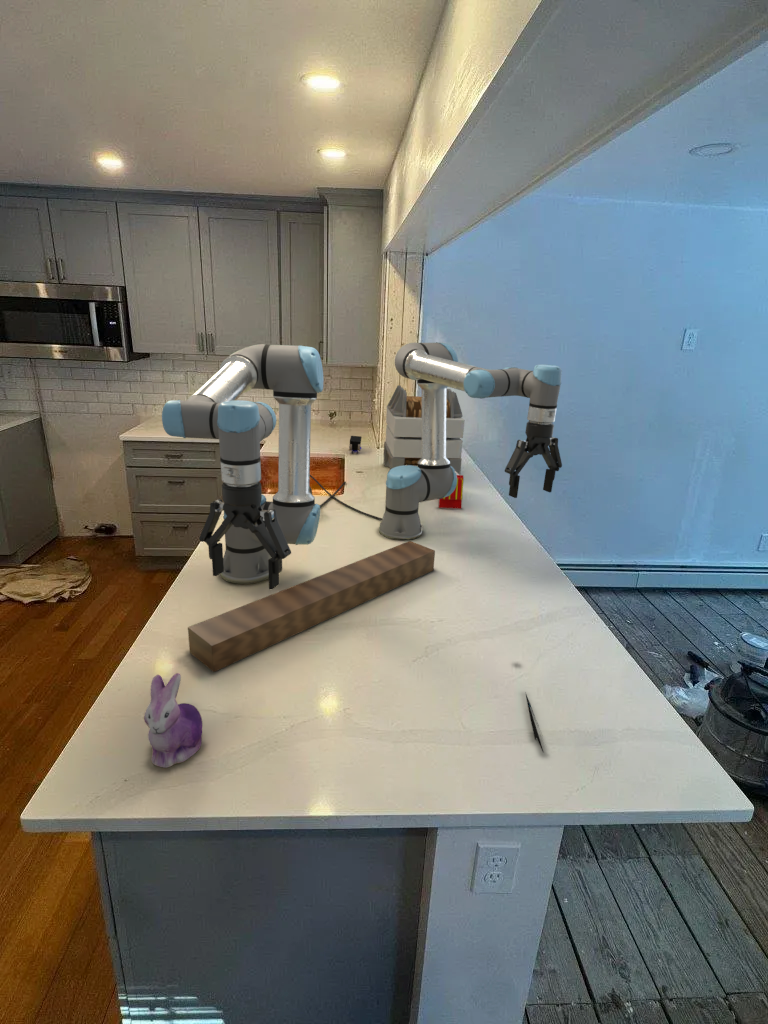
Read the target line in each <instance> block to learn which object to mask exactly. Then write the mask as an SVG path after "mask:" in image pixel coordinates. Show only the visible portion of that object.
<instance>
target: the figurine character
mask: <svg viewBox="0 0 768 1024" xmlns="http://www.w3.org/2000/svg"><path fill="white" fill-rule="evenodd" d="M362 438H363V437H362V435H361V436H360V435H350V438H349V446H348V448H349V449H348V450H349V451H351V455H352V454H354V453H356V455H358V454H359V451H361V450H362V446H361V445H362V444H361V443H362Z"/></svg>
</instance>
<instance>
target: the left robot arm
mask: <svg viewBox="0 0 768 1024" xmlns="http://www.w3.org/2000/svg"><path fill="white" fill-rule="evenodd" d="M323 369H324V368H323V363H322V359H321V355H320V353H319V351H318V350H317V349H316V348H315V347H312V346H306V345H305V346H304V345H302V344H300V345H291V344H289V345H287V344H267V343H260V344H254V345H250V346H249V345H248V346H245V347H244V348H240V349H239V350H237V351H235V352H233V353H232V354H229V356H227V357H226V358H225V359H224V360H223V361H222V362H221V364H220V366H219V370H218V371H217V372H215V373H214V374H213V375H212V376H211V377H210V378H209V379H208V380H206V382H205V383H204V384H203V385H201V386H200V387H199V388H198V389H197V390H196V391H195V392H194V393H193V394H191V395H190V396H189V397H188V398H187V399H186V400H182V399H177V400H176V399H175V400H172V399H171V400H167V401H166V402H165V404H164V405H163V407H162V410H161V423H162V427H163V430H164V432H165V433H166V434H167V435H168V436H171V437H177V438H183V439H203V440H204V439H206V440H209V439H210V440H218V443H219V445H218V446H219V456H220V459H219V461H220V475H221V479H220V480H221V482H223V483H222V484H221V496H222V498H218V499H216V500H213V501H211V502H210V504H209V513H208V515H207V518H206V521H205V522H204V525H203V527H202V530H201V532H200V535H199V538H198V539H199V541H200V542H201V543H203V542H204V543H206V545H207V546H208V558H209V559H210V560H211V567H212V568H211V569H212V576H213V577H217V576H219V575H220V577H221V578H222V579H223V580H224V581H226V582H228V583H232V584H238V585H250V584H257V583H260V582H264V581H266V580H268V589H269V590H271V591H272V590H274V589H275V588H277V587H278V586H280V574H281V573H282V572H283V560H285V559H286V558H287V557H289V556H290V555H291V554H292V550H291V548H290V545H295V546H298V545H299V546H301V545H303V546H304V545H307V546H309V545H311V544H312V543H313V542H314V540H315V538H316V536H317V534H318V533H317V532H318V528H319V525H320V524H319V523H320V517H321V508H322V507H324V505H326V504H328V502H329V501H330V500H331V499H333V498H332V496H334V497H335V495H337V493H339V491H340V490H341V489H342V488H343V487H344V486H345V484H346V481H343V482H342V483H341V485H340V486H339V487H338V488H337V490H335V491H334V493H332V494H331V495H332V496H330V497H328V498H327V499H326V500H325V501H324V502H322V503H321V504H318V503H316V501H315V500H316V497H315V496H314V495H313V493H312V494H311V493H310V491H309V486H310V482H311V481H310V480H311V479H310V478H311V477H310V475H311V474H310V473H311V434H312V433H311V431H312V429H311V428H312V427H311V425H312V419H311V418H312V405H313V404H314V403H315V401H316V400H318V394H319V393H322V392H323V390H324V379H325V378H324V370H323ZM251 390H268V391H269V390H272V397H273V399H274V400H275V401H276V402H277V403H278V470H277V471H278V473H277V474H278V481H277V482H278V483H277V484H278V485H277V486H278V487H277V492H276V493H275V494H273V496H272V501H267V497H266V496H265V495H264V494H263V493H262V483H261V480H262V463H261V442H263V440H265V439H266V438H269V437H270V436H271V434H272V433H273V432H274V429H275V428H276V426H277V416H276V413H275V411H274V409H273V408H272V407H271V406H270V405H269V404H268V403H265V402H262V401H251V400H242V399H240V400H238V399H239V398H240V397H241V396H242V395H243V394H245V393H248V392H249V391H251ZM222 513H223V515H222ZM221 515H222V516H223V517H222V518H223V520H222V522H221V524H220V525H219V527H218V528H216V527H217V525H218V522H219V519H220V517H221ZM215 529H216V530H215ZM223 537H224V541H225V543H224V544H225V551H223V550H224V549H223V543H222V542H220V541H221V539H222V538H223Z"/></svg>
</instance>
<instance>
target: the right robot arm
mask: <svg viewBox="0 0 768 1024" xmlns="http://www.w3.org/2000/svg"><path fill="white" fill-rule="evenodd" d="M394 367H395V370H396V372H397V373H398V374H399V375H400V376H401V377H403V378H405V379H408V380H412V381H417V382H416V385H417V386H419V388H420V389H421V397H422V458H421V459H420V460H419V461H418V466H413V465H402V466H397V467H394V468H392V469H391V470H390V469H389V470H388V472H387V475H386V479H385V504H384V505H385V507H384V508H385V509H384V513H383V515H382V517H379V516H376V515H372V514H370V513H368V512H364V511H363V510H359V509H357V508H355V507H354V506H351V505H348V504H347V503H345V502H343V501H341V500H340V499H338V498H336V497H335V495H334V496H332V495H333V494H331V493H330V492H329V491H328V490H327V489H326V488H325V487H324V486H323V485H322V484H321V483H320V482H319V481H318V480H317V479H316V478H315V477H314V476H312V475H311V474H310V478H311V479H312V480H313V481H314V482H315V483H316V484H317V485H318V486H319V487H320V488H321V489H322V490H323V491H324V492H325V493H326V494H327V495H328V496H330V497H331V496H332V498H331V499H334V500H335V501H337V502H338V503H340V504H341V505H343V506H345V507H346V508H348V509H351V510H352V511H355V512H357V513H359V514H362V515H365V516H368V517H370V518H373V519H377V520H380V521H381V522H379V527H378V533H379V534H380V535H381V536H382V537H385V538H387V539H389V540H395V541H412V540H415V539H418V538H420V537H421V536H422V535H423V529H424V526H423V524H421V518H420V515H419V507H420V506H419V505H420V503H422V502H429V501H435V500H439V499H442V498H444V497H447V496H449V495H451V493H453V491H454V490H455V488H456V484H457V475H456V473H455V470H454V468H453V467H452V466H450V461H449V460H448V459H447V458H446V389H448V388H450V389H451V388H452V389H454V390H458V391H462V392H465V394H466V395H467V396H468V397H469V398H471V399H486V398H499V397H523V398H526V399H527V398H528V399H529V403H528V411H527V418H526V419H527V420H528V421H527V422H526V425H525V435H526V439H525V440H522V439H517V441H516V445H515V448H514V450H513V452H512V454H511V456H510V458H509V460H508V462H507V464H506V466H505V468H504V472H505V473H506V474H509V478H508V479H509V480H508V485H509V489H508V496H509V497H512V498H513V499H517V498H518V493H519V487H520V486H519V485H520V479H521V476H520V475H519V474H520V473H521V471H522V470H523V469H524V467H525V466H526V464H527V463H528V461H530V459H531V458H533V457H534V456H538V455H540V456H542V458H543V460H544V462H545V464H546V466H547V467H548V468H546V469H545V474H544V481H543V487H542V491H545V492H547V493H552V491H553V485H554V481H555V478H556V472H559V471H560V469H561V468H562V467H563V463H562V459H561V454H560V449H559V438H558V437H556V436H555V437H554V429H555V424H554V423H555V421H556V414H557V407H558V402H559V401H558V400H559V395H560V390H561V385H562V375H563V374H562V372H563V370H562V368H561V367H560V366H558V365H553V364H552V365H550V364H536V365H535V366H533V367H534V368H533V370H529V369H524V368H518V367H515V366H514V367H513V366H510V367H509V366H508V367H504V368H499V369H498V368H497V369H490V368H489V369H488V368H483V367H480V366H475V365H471V364H467V363H463V362H459V358H458V354H457V352H456V350H455V349H454V348H453V346H452V345H451V344H448V343H445V342H408V343H406V344H404V345H402V346H401V347H400V348H399V349H398V351H397V352H396V353H395V356H394Z"/></svg>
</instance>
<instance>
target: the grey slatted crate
mask: <svg viewBox="0 0 768 1024" xmlns="http://www.w3.org/2000/svg"><path fill="white" fill-rule="evenodd" d="M407 394H408V393H407V390H406V389H404V388H403V387H402V385H399V384H398V385H397V386H396V388H395V390H394V392H393V394H392V395H391V398H390V400H389V402H388V404H387V405H386V413H385V414H386V415H385V423H386V428H385V438H384V442H383V466H384V467H388V468H389V471H390V470H391V469H392V468H394V467H397V466H402V465H405V466H407V465H413V466H417V467H418V461H419V460H420V459H421V458H422V396H415V395H414V396H413V395H412V396H411V395H407ZM464 429H465V419H464V418H463V411H462V408H461V405H460V402H459V398H458V395H457V392H455V391H453V390H452V389H451V388H447V389H446V458H447V459H448V460H449V461H450V466H452V467H453V468H454V470H455V471H456V472H457V473H458V474H459V475H462V474H461V472H462V461H463V460H462V453H463V442H464V441H463V440H462V439H463V438H464V431H465V430H464Z"/></svg>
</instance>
